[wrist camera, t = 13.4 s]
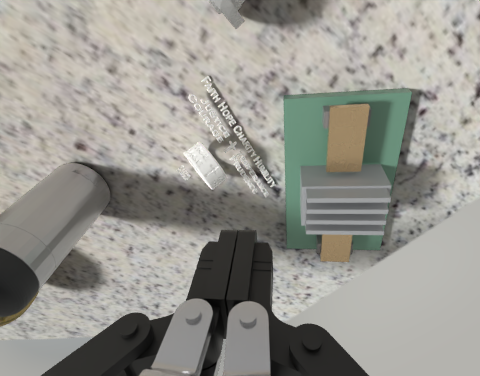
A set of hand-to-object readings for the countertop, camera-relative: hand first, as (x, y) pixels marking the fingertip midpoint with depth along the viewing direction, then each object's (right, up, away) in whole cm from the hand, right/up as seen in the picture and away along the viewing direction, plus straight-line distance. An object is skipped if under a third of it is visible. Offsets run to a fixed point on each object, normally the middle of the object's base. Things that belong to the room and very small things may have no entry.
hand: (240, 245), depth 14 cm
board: (+13, +4, +30) cm, 33 cm away
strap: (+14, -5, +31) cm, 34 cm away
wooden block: (+12, +8, +22) cm, 27 cm away
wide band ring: (-4, +7, +30) cm, 32 cm away
